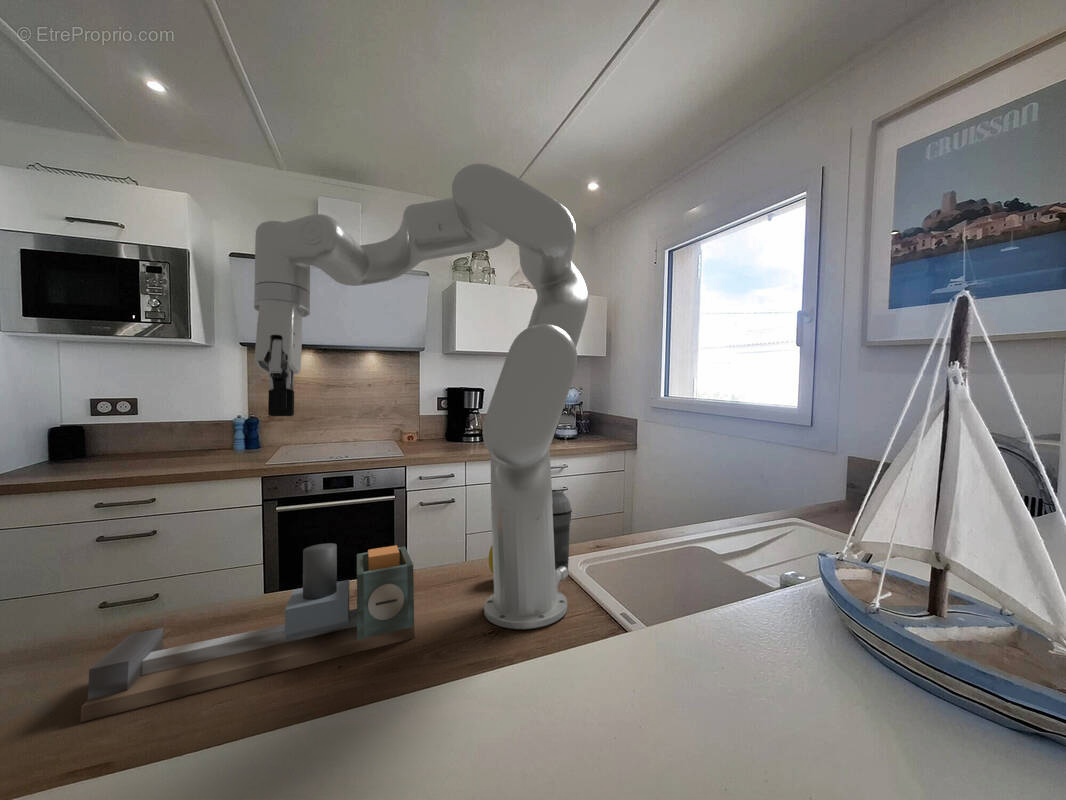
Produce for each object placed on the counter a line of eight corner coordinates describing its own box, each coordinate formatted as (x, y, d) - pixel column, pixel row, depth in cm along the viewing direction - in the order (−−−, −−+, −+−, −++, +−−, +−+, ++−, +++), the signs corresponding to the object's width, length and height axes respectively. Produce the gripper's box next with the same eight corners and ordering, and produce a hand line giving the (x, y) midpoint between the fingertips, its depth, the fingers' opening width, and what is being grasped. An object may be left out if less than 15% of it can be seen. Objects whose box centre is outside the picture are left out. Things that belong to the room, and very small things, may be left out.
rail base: (405, 608, 60) (405, 546, 61) (414, 639, 51) (413, 565, 52) (133, 668, 47) (137, 588, 48) (77, 725, 38) (83, 624, 39)
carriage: (349, 608, 56) (349, 537, 57) (348, 629, 50) (348, 550, 50) (293, 619, 53) (294, 545, 54) (284, 643, 47) (285, 559, 48)
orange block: (397, 572, 58) (396, 545, 58) (399, 581, 54) (399, 552, 54) (368, 577, 56) (368, 549, 56) (369, 587, 52) (368, 557, 53)
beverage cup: (578, 579, 69) (573, 467, 71) (538, 582, 69) (533, 469, 71) (571, 565, 77) (566, 464, 78) (535, 568, 76) (530, 466, 78)
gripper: (265, 314, 67) (263, 419, 65) (241, 282, 53) (238, 413, 52) (314, 317, 70) (313, 418, 69) (304, 288, 57) (303, 412, 55)
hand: (281, 415), depth 60 cm, fingers closed
